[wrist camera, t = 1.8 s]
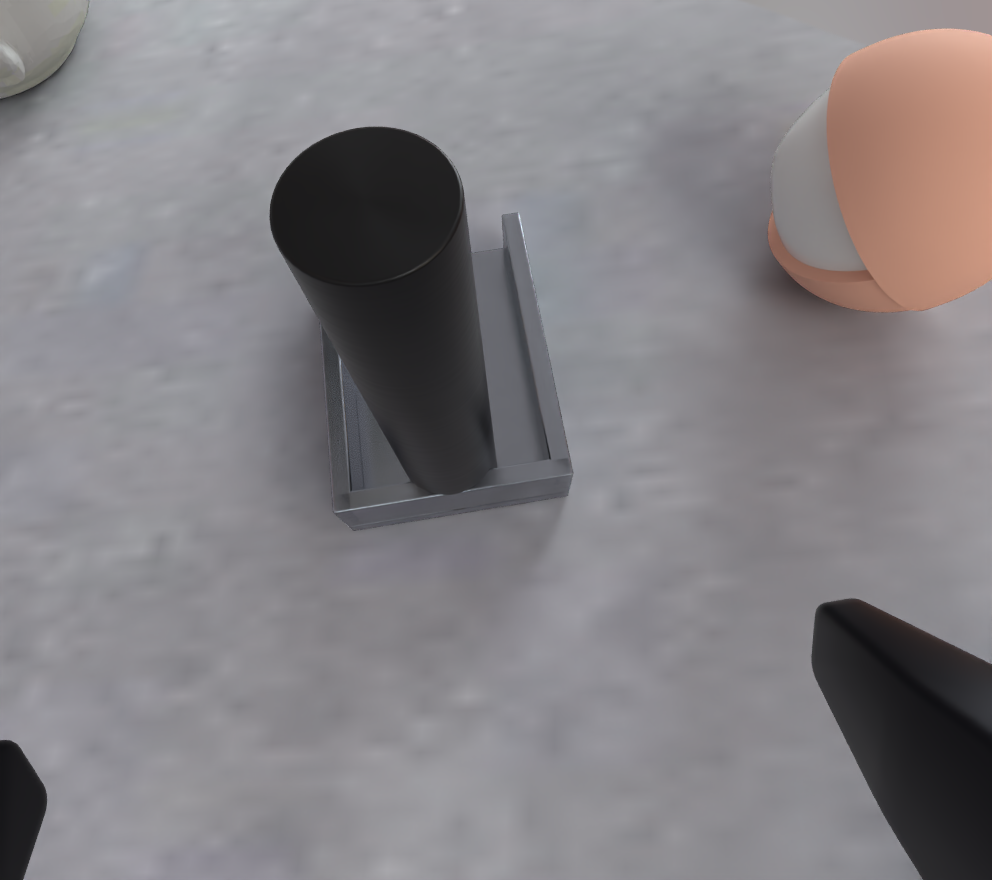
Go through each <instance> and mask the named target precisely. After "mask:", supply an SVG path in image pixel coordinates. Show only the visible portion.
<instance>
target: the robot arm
mask: <svg viewBox="0 0 992 880" xmlns="http://www.w3.org/2000/svg"><path fill="white" fill-rule="evenodd" d="M811 658H812V668H813V672H814V675H815V678H816V680H817V682H818V685H819V687H820V689H821V691H822V693H823V695H824V697H825V699H826V701H827V703H828V705H829V707H830V709H831V711H832V713H833V715H834V717H835V719H836V721H837V723H838V725H839V727H840V729H841V731H842V733H843V735H844V737H845V739H846V741H847V743H848V745H849V747H850V749H851V751H852V753H853V755H854V757H855V759H856V761H857V764H858V766H859V768H860V770H861V772H862V774H863V776H864V778H865V780H866V782H867V784H868V786H869V788H870V790H871V792H872V794H873V796H874V798H875V799H876V801H877V803H878V805H879V807H880V809H881V811H882V813H883V815H884V816H885V818H886V820H887V821H888V823H889V825H890V826H891V828H892V830H893V832H894V833H895V835H896V837H897V838H898V840H899V842H900V843H901V845H902V846H903V848H904V850H905V851H906V853H907V854H908V856H909V858H910V859H911V861H912V862H913V864H914V866H915V867H916V869H917V871H918V872H919V874H920V875H921V877H922V879H923V880H992V664H990V663H988V662H986V661H984V660H982V659H980V658H978V657H976V656H974V655H972V654H970V653H968V652H966V651H963V650H961V649H959V648H957V647H955V646H953V645H951V644H949V643H947V642H945V641H943V640H941V639H939V638H937V637H935V636H933V635H931V634H929V633H927V632H925V631H923V630H921V629H919V628H917V627H915V626H913V625H911V624H909V623H906V622H904V621H902V620H900V619H898V618H896V617H894V616H892V615H890V614H888V613H886V612H884V611H882V610H880V609H878V608H876V607H874V606H872V605H870V604H868V603H866V602H864V601H861V600H859V599H844V600H838V601H832V602H826V603H823V604H821V605H819V607H818V608H817V610H816V614H815V622H814V633H813V645H812V656H811ZM46 806H47V793H46V789H45V787H44V784H43V783H42V781H41V780H40V778H39V777H38V775H37V773H36V772H35V770H34V769H33V767H32V766H31V764H30V762H29V761H28V759H27V758H26V756H25V755H24V753H23V751H22V750H21V748H20V747H19V746H18V745H17V744H16V743H14V742H12V741H10V740H0V880H23V879H24V875H25V872H26V869H27V866H28V863H29V860H30V857H31V854H32V851H33V848H34V845H35V842H36V839H37V836H38V833H39V830H40V827H41V824H42V821H43V818H44V815H45V811H46Z"/></svg>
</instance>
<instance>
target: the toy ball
mask: <svg viewBox="0 0 992 880" xmlns="http://www.w3.org/2000/svg"><path fill="white" fill-rule="evenodd" d="M770 188H771V202H772V213H771V216H770V220H769V225H768V241H769V245H770V248H771V251H772V253H773V255H774V256H775V258H776V259H777V260H778V262H779V263H780V264H781V266H782V267H783V268H784V269H785V270H786V272H787V273H788V274H789V275H790V276H791V277H792V278H793V279H794V280H795V281H796V282H797V283H799V284H800V285H801V286H802V287H804V288H805V289H806V290H808V291H809V292H811V293H813V294H814V295H816V296H818V297H820V298H822V299H824V300H826V301H828V302H831V303H833V304H836V305H839V306H842V307H846V308H850V309H854V310H860V311H868V312H900V311H908V310H914V311H923V310H927V309H930V308H933V307H936V306H939V305H942V304H944V303H947V302H950V301H952V300H955V299H957V298H959V297H961V296H964V295H966V294H968V293H970V292H972V291H973V290H975V289H977V288H979V287H980V286H982V285H984V284H985V283H987V282H988V281H990V280H991V279H992V36H991V35H988V34H985V33H981V32H975V31H970V30H962V29H930V30H922V31H916V32H910V33H906V34H901V35H898V36H895V37H891V38H888V39H885V40H882V41H880V42H877V43H875V44H872V45H870V46H868V47H865V48H863V49H861V50H859V51H857V52H854V53H852V54H850V55H849V56H848V57H846V58H845V59H844V60H843V61H842V63H841V64H840V65H839V67H838V69H837V71H836V73H835V75H834V78H833V80H832V84H831V87H830V88H829V89H828V90H826V91H825V92H824V93H823V94H822V95H821V96H820V97H819V98H817V99H816V100H815V101H814V102H813V103H812V104H811V105H810V106H809V107H808V108H807V109H806V110H805V112H804V113H803V114H802V115H801V116H800V117H799V118H798V119H797V120H796V121H795V123H794V124H793V125H792V126H791V128H790V129H789V130H788V131H787V133H786V134H785V136H784V137H783V139H782V140H781V142H780V144H779V146H778V148H777V150H776V152H775V154H774V158H773V162H772V168H771V178H770Z"/></svg>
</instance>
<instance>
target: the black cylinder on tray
mask: <svg viewBox="0 0 992 880" xmlns="http://www.w3.org/2000/svg"><path fill="white" fill-rule="evenodd" d="M270 226H271V231H272V234H273V238H274V240H275V242H276V244H277V246H278V248H279V250H280V252H281V254H282V256H283V257H284V259H285V261H286V263H287V264H288V266H289V268H290V270H291V271H292V273H293V275H294V277H295V278H296V280H297V282H298V284H299V285H300V287H301V289H302V291H303V293H304V294H305V296H306V298H307V300H308V301H309V303H310V305H311V307H312V308H313V310H314V312H315V314H316V315H317V317H318V319H319V322H320V336H321V350H322V364H323V378H324V392H325V406H326V420H327V434H328V448H329V462H330V476H331V490H332V504H333V513H334V514H335V515H336V516H338V517H339V518H340V519H341V520H342V521H343V522H344V523H345V524H347V525H348V526H349V527H350V528H351V529H352V530H353V531H356V530H362V529H369V528H375V527H381V526H387V525H393V524H399V523H405V522H412V521H418V520H424V519H430V518H436V517H442V516H448V515H454V514H461V513H467V512H473V511H479V510H485V509H491V508H497V507H504V506H510V505H516V504H522V503H528V502H534V501H540V500H546V499H553V498H559V497H565V496H568V493H569V489H570V485H571V481H572V477H573V469H572V464H571V460H570V455H569V450H568V445H567V440H566V436H565V431H564V426H563V421H562V416H561V412H560V407H559V402H558V397H557V392H556V388H555V383H554V378H553V373H552V368H551V364H550V359H549V354H548V349H547V344H546V339H545V335H544V330H543V325H542V320H541V315H540V311H539V306H538V301H537V296H536V291H535V287H534V282H533V277H532V272H531V267H530V263H529V258H528V253H527V248H526V243H525V239H524V234H523V229H522V224H521V219H520V214H519V213H511V214H505V215H502V230H503V248H501V249H495V250H488V251H482V252H475V253H471V247H470V239H469V231H468V223H467V214H466V206H465V198H464V190H463V186H462V182H461V178H460V176H459V174H458V171H457V169H456V168H455V166H454V165H453V163H452V162H451V160H450V159H449V158H448V157H447V156H446V154H445V153H444V152H443V151H442V150H441V149H439V148H438V147H437V146H436V145H435V144H433V143H432V142H430V141H428V140H427V139H425V138H423V137H421V136H419V135H417V134H414V133H411V132H408V131H405V130H401V129H396V128H389V127H363V128H355V129H350V130H346V131H343V132H339V133H336V134H333V135H331V136H329V137H326V138H324V139H322V140H320V141H318V142H317V143H315V144H313V145H312V146H310V147H309V148H307V149H306V150H304V151H303V152H302V153H301V154H300V155H298V156H297V157H296V158H295V159H294V160H293V161H292V162H291V163H290V165H289V166H288V167H287V168H286V170H285V171H284V172H283V174H282V175H281V177H280V179H279V181H278V182H277V184H276V187H275V189H274V192H273V195H272V199H271V204H270Z"/></svg>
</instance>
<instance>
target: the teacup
mask: <svg viewBox="0 0 992 880" xmlns="http://www.w3.org/2000/svg"><path fill="white" fill-rule="evenodd" d="M88 7H89V0H0V99H1V98H6V97H9V96H12V95H15V94H18V93H21V92H23V91H25V90H27V89H30V88H32V87H34V86H36V85H37V84H39V83H41V82H42V81H44V80H45V79H47V78H49V77H50V76H51V75H52V74H53V73H54V72H55V71H56V70H57V69H58V68H59V67H60V66H61V65H62V64H63V63H64V62H65V60H66V59H67V57H68V56H69V54H70V53H71V51H72V49H73V47H74V45H75V43H76V39H77V36H78V34H79V32H80V30H81V28H82V27H83V24H84V21H85V18H86V15H87V12H88Z"/></svg>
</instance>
